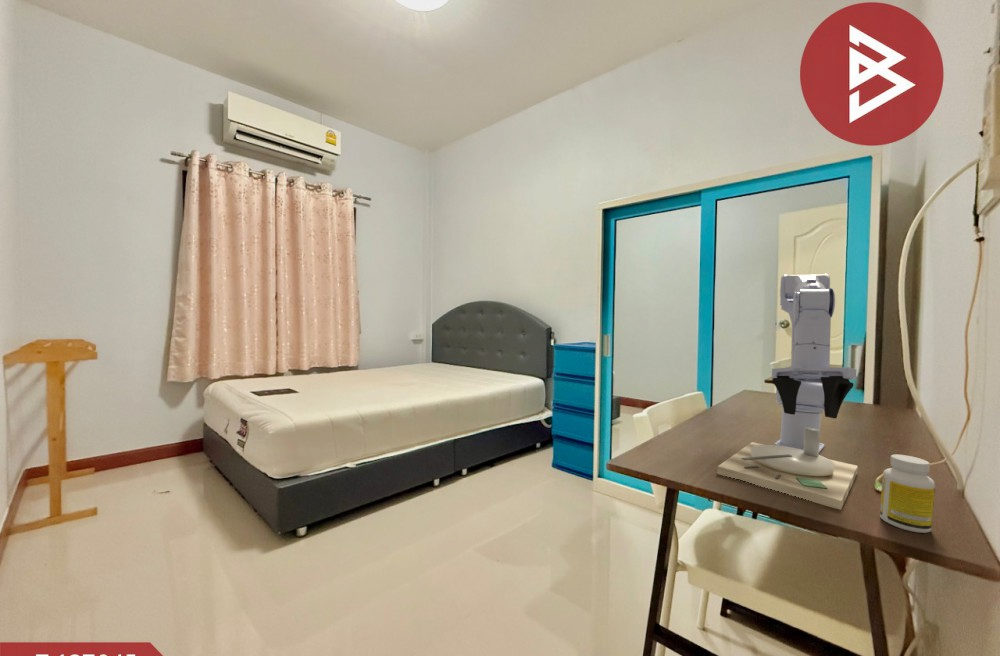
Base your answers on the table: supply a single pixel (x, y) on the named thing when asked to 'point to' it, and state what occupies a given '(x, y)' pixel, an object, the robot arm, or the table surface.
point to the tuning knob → (795, 456)
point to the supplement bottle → (908, 494)
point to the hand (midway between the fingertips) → (809, 415)
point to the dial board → (793, 479)
